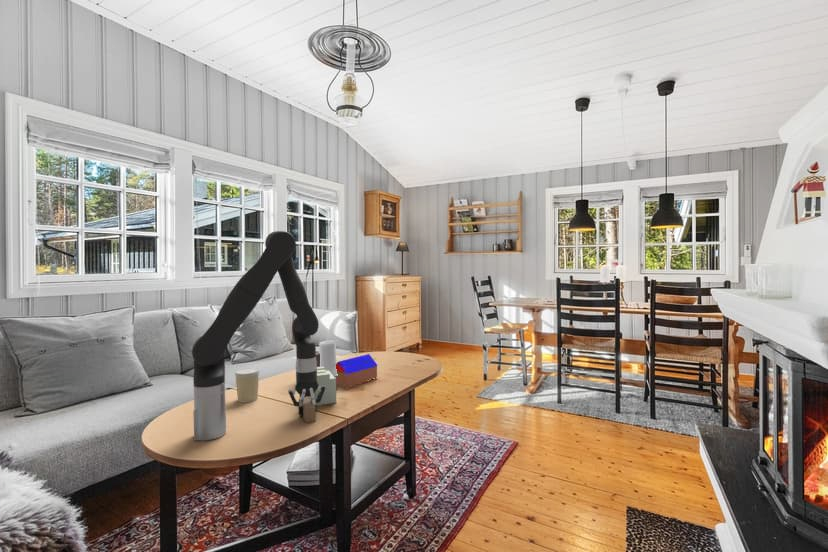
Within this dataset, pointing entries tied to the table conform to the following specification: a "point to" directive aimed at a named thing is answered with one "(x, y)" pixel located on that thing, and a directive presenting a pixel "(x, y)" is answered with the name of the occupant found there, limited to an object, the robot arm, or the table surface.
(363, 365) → the house
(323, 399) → the stand
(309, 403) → the long beige cuboid
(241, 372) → the coffee cup
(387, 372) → the table surface
